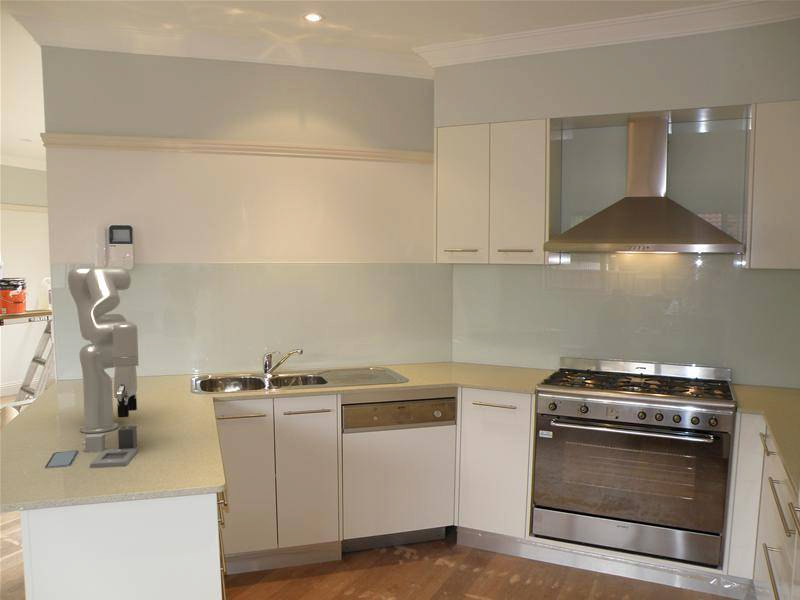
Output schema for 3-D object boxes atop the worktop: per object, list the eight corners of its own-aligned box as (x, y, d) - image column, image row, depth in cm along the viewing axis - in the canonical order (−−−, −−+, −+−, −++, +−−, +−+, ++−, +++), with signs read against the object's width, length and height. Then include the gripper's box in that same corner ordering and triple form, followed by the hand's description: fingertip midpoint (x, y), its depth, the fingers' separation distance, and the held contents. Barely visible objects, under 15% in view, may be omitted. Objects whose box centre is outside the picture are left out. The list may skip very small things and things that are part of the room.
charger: (122, 447, 205) (122, 426, 205) (137, 446, 206) (136, 425, 206) (118, 451, 201) (118, 429, 200) (133, 450, 202) (132, 429, 201)
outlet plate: (104, 453, 199) (104, 449, 198) (137, 451, 200) (137, 447, 200) (90, 467, 185) (90, 463, 185) (125, 465, 186) (125, 461, 186)
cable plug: (85, 449, 203) (84, 434, 203) (105, 448, 204) (105, 433, 204) (81, 452, 199) (81, 437, 199) (102, 451, 200) (101, 436, 200)
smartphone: (43, 467, 184) (53, 452, 198) (43, 470, 184) (53, 454, 198) (71, 465, 186) (79, 449, 200) (71, 467, 186) (79, 452, 200)
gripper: (121, 358, 209) (122, 408, 210) (105, 366, 192) (107, 420, 193) (144, 357, 211) (146, 407, 211) (130, 365, 194) (132, 419, 194)
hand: (127, 413), depth 202 cm, fingers open, 9 cm apart
